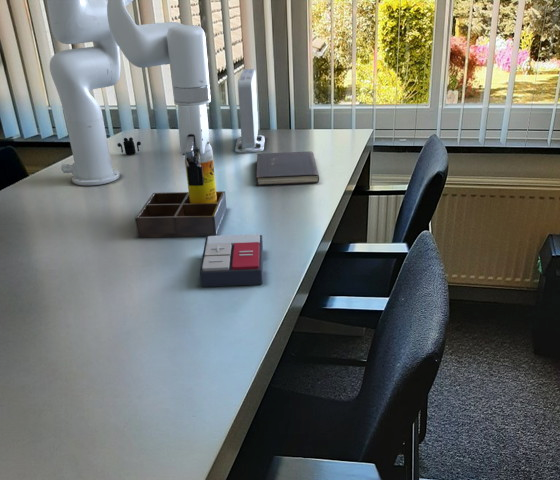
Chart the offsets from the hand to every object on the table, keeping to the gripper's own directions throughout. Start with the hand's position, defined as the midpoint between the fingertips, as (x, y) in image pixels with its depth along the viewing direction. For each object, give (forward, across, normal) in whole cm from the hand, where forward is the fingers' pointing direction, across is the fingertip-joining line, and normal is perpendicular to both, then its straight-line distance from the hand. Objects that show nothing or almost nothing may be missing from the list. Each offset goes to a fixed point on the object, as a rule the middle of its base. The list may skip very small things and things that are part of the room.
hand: (200, 178), depth 137 cm
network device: (+9, -65, +4) cm, 65 cm away
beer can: (+8, 0, 0) cm, 8 cm away
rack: (+9, +4, -4) cm, 10 cm away
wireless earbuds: (+10, -56, -32) cm, 65 cm away
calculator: (+8, +29, +10) cm, 32 cm away
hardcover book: (+9, -34, +17) cm, 39 cm away
